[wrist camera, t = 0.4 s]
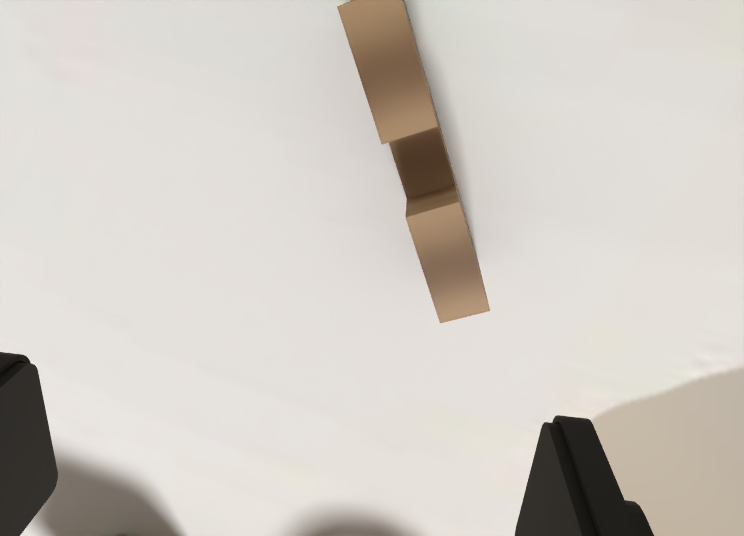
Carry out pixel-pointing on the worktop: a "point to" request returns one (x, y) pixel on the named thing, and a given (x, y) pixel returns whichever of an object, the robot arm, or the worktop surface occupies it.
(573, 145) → the worktop surface
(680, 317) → the worktop surface
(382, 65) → the walnut board
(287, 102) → the worktop surface
